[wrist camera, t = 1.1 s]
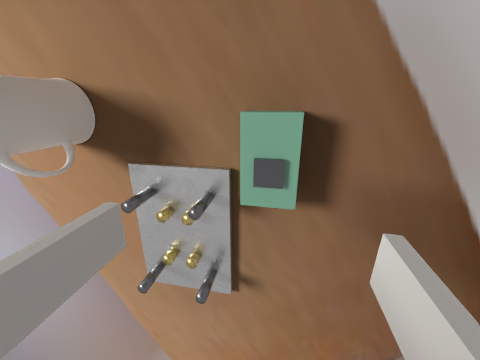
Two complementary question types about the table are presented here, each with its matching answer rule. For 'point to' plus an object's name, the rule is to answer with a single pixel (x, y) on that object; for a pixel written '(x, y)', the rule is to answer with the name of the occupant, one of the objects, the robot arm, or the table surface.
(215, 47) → the table surface
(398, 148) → the table surface
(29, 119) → the mug
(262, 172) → the board
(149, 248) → the chassis
